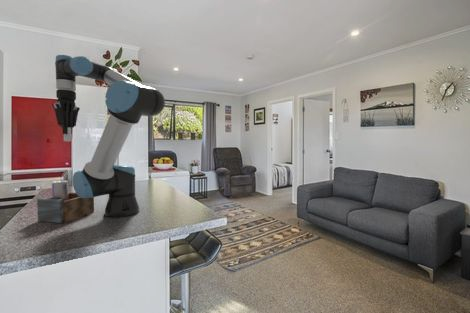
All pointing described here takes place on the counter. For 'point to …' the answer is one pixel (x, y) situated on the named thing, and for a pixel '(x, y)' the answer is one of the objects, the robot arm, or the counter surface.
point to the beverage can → (60, 190)
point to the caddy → (76, 207)
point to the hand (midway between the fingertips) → (67, 141)
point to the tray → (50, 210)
